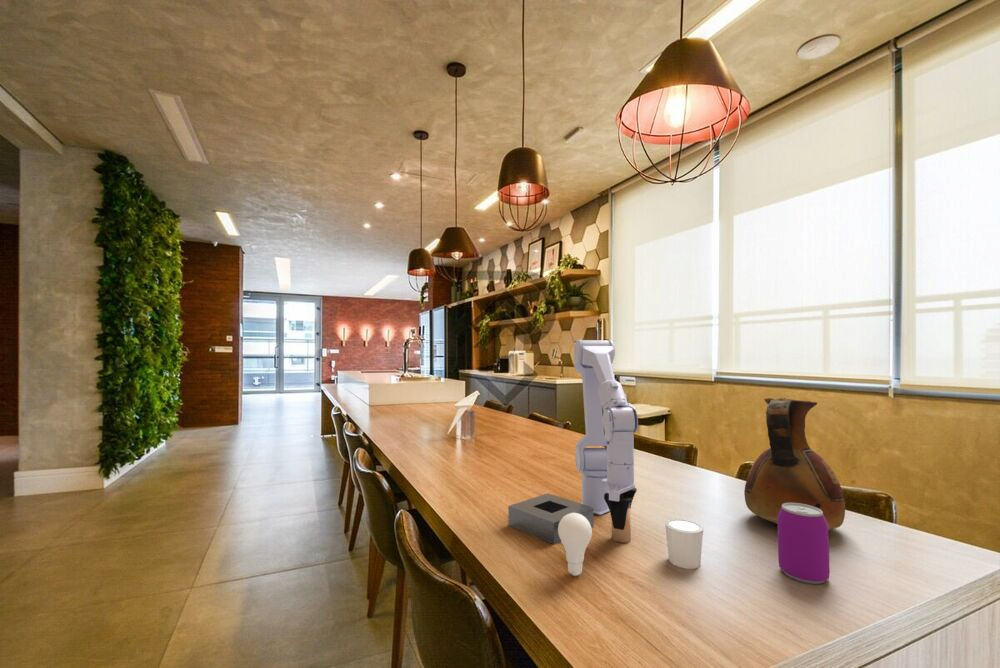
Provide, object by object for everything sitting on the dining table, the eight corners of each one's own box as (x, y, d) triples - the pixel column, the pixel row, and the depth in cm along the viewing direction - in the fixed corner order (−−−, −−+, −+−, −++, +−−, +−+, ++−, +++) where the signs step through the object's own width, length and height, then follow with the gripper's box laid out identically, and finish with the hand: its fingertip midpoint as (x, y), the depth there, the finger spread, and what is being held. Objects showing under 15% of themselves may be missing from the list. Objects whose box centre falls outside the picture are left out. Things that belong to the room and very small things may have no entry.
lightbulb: (592, 585, 76) (591, 521, 76) (557, 582, 77) (556, 518, 78) (592, 568, 82) (591, 509, 82) (559, 565, 83) (559, 506, 84)
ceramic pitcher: (850, 524, 104) (846, 397, 105) (840, 552, 89) (835, 404, 91) (757, 504, 117) (754, 392, 119) (735, 526, 103) (732, 397, 104)
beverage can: (777, 561, 85) (776, 498, 86) (826, 571, 81) (824, 505, 82) (779, 579, 78) (777, 510, 79) (833, 590, 75) (830, 519, 75)
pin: (618, 533, 98) (617, 497, 98) (634, 538, 95) (633, 501, 96) (608, 538, 95) (607, 501, 96) (624, 544, 92) (623, 505, 93)
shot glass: (702, 556, 87) (701, 520, 87) (706, 573, 81) (705, 534, 81) (665, 551, 89) (664, 516, 90) (666, 566, 83) (665, 529, 83)
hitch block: (548, 511, 112) (547, 493, 112) (593, 527, 102) (593, 507, 102) (508, 525, 103) (508, 505, 103) (554, 544, 92) (553, 522, 93)
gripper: (609, 453, 104) (609, 511, 104) (594, 467, 91) (594, 533, 91) (639, 456, 101) (640, 516, 101) (628, 471, 88) (629, 540, 88)
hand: (621, 524), depth 95 cm, fingers closed on pin, 4 cm apart
